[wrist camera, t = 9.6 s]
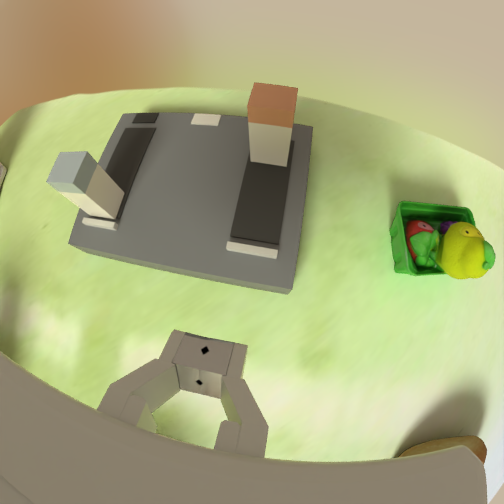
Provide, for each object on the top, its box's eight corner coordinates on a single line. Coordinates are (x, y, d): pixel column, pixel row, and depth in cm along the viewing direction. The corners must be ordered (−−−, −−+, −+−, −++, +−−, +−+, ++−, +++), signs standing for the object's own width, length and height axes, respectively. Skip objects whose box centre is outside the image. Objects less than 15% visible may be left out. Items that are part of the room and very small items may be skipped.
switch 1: (90, 215, 26) (46, 181, 18) (99, 190, 26) (60, 152, 19) (115, 219, 25) (72, 183, 18) (124, 192, 26) (87, 151, 18)
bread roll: (455, 479, 19) (484, 497, 11) (371, 496, 20) (395, 528, 13) (477, 422, 22) (513, 434, 14) (397, 433, 23) (432, 457, 15)
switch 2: (250, 161, 27) (247, 105, 19) (255, 138, 27) (254, 82, 20) (286, 166, 26) (294, 111, 19) (290, 143, 27) (298, 88, 19)
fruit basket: (449, 221, 29) (503, 184, 18) (459, 289, 27) (522, 270, 16) (378, 218, 29) (426, 169, 18) (386, 295, 27) (448, 277, 16)
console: (86, 252, 29) (64, 241, 24) (133, 131, 34) (121, 109, 29) (287, 294, 27) (293, 288, 23) (307, 147, 32) (313, 122, 27)
